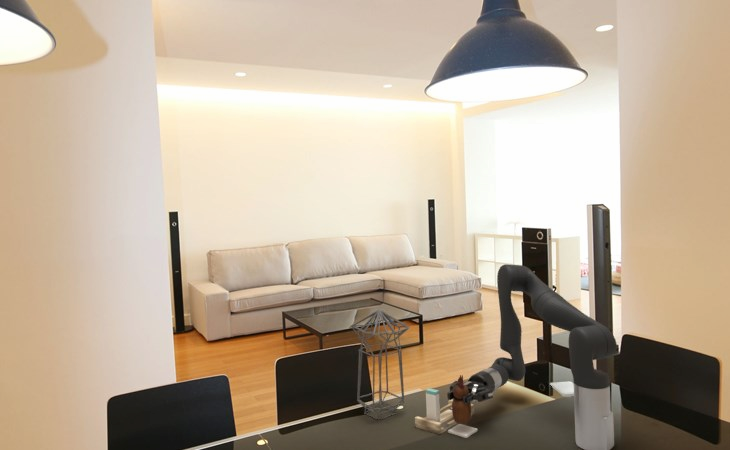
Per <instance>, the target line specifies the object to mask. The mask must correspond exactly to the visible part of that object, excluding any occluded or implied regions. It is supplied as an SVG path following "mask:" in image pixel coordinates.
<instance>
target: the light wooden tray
mask: <svg viewBox="0 0 730 450" xmlns="http://www.w3.org/2000/svg"><path fill="white" fill-rule="evenodd" d="M452 401H453V399H452V400H448V399H447V403H448V404H446V405H445V406H443V407H440V422H436V421H432V420H429V419H427V415H426V416H424V417H421V416H419V415H418V416H415V417H414V425H415V428H418V429H420V430H423V431H425V432H428V433H429V432H430V433H432V434H436V435H441V434H443V433H445V432H446V431H448V430H450V429H451V428H453V427H455V426H456V425H458V423H456V422H455V420H454V418H453V414H452ZM474 407H475V404H473V403H471V416H473V415H474V414H475V408H474Z"/></svg>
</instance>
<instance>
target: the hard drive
mask: <svg viewBox="0 0 730 450" xmlns="http://www.w3.org/2000/svg"><path fill="white" fill-rule="evenodd" d="M550 385H551V386H552V387H551V386H550ZM549 386H550V387H551V388H553V389H554V390H555V391H556V392H557V393H558V394H559V395H561V396H562V397H563V398H572V397H571V396H574V382H572V381H557V382H554V381H553V382H550V383H549Z"/></svg>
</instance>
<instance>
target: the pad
mask: <svg viewBox="0 0 730 450" xmlns="http://www.w3.org/2000/svg"><path fill="white" fill-rule="evenodd" d="M477 432H478V428H476V427H472V426H469V425H466V424H456V425H454V426H453V427H451V428H449V429H448V430H447V433H449V434H452V435H455V436H459V437H461V438H464V439H467V438H469V437H470V436H471V435H473V434H475V433H477Z"/></svg>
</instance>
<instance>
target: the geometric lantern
mask: <svg viewBox="0 0 730 450" xmlns="http://www.w3.org/2000/svg"><path fill="white" fill-rule="evenodd" d="M367 319H368V320H367ZM366 320H367V321H366ZM364 321H366V322H365V323H364V324H360V323H361V322H364ZM381 323H382V324H383V329H384V331H383V332H380V328H381V327H380V326H381V325H380V324H381ZM398 324H399V325H398ZM386 325H387V326H388V328H389V329H390V331H391V332H388V330H387V326H386ZM373 326H374V328H373ZM359 327H360V328H359ZM348 328H351V329H352V330H353V331H354V332H355V334H356V335H357V336H358V340H359V341H360V340H361V341H360V348H359V349H358V350H357V351H358V365H357V366H358V371H357V394H356V395H357V396H356V398H357V399H356V400H357V402H358V404H360V405H361V407H363V408H364V411H363V412H364V415H365V414H366V416H367V417H370V416H371V417H370V418H372V417H373V419H375V420H377V419H378V420H377V421H379V420H380V419H381V420H384V419H386V418H389V417H391V415H392V416H394V415H396V414H397V409H398V408H399V407H400V406H402V405H404V404H405V392H404V374H403V373H404V372H403V356H402V348H401V342H400V338H401V336H402V335H403V334H404V333H406V332H407V331H408V330H409V329H410V326H409V325H407V324H406V323H404V322H402V321H400V320H398V319H397V318H395V317H393V316H392V315H390V314H389V313H387V312H385V311H384V310H381V309H380V310H375V311H374V312H372V313H370V314H369V315H367V316H365V317H363V318H362V319H360V320H358V321H356V322H354V323H353V324H350V325H349V327H348ZM368 328H370V331H368ZM377 328H378V330H377ZM396 328H398V330H397V331H395V329H396ZM401 328H402V329H401ZM357 330H358V331H357ZM376 331H378V332H377V333H376ZM360 332H361V333H362V336H361V335H360ZM366 335H369V336H368V337H366V338H365V336H366ZM384 335H386V337H385V336H384ZM392 335H393V337H394V338H392V339H391V337H392ZM373 336H375V337H376V338H377V340H378V341H379V342H380V343H377V344H373V345H369V343H368V340H369V339H370V338H372V337H373ZM378 336H380V337H381V338H382V339H384V340H385V341H386V342H385V343H383V342H382V341H381V339H379V337H378ZM397 339H398V343H397ZM364 342H365V344H366V346H363V343H364ZM391 342H394V343H395V347H394V346H391V345H390V344H388V343H391ZM398 345H399V346H398ZM376 346H379V347H380V349H379V350H380V351H379V353H378V354H374V352H373V351H372V348H371V347H376ZM387 347H389V348H391V349H395V350H397V351H393V352H389V353H388V348H387ZM367 348H368V350H369V351H370V352H369V353H368V352H367V351H364V350H363V349H367ZM384 349H385V351H384ZM383 351H384V352H385V353H384V354H383ZM363 353H364V354H366V355H368V356H371V357H372V392H371V393H368V394H367V393H366V394H364V395H363V394H362V395H361V383H362V380H361V379H362V369H363V368H362V365H363ZM392 354H393V355H394V354H397V357H398V365H399V366H398V367H399V377H400V378H399V381H400V388H401V389H400V390H401V396H398V395H397V394H395V393H392V392H390V391H389V376H388V375H389V373H388V372H389V371H388V355H392ZM384 356H385V376H386V377H385V380H386V381H385V382H386V383H385V384H386V390H382V363H383V362H382V357H384ZM376 357H377V358H378V360H377V361H378V377H379V378H378V381H379V382H378V383H379V385H378V386H379V387H378V391H375V378H376V377H375V367H376V364H375V363H376V361H375V360H376V359H375V358H376ZM383 393H385V394H384V396H383V395H382V394H383ZM375 394H378V401H375ZM387 394H388V395H391V396H393V397H396V398H398V399H400V401H399V402H398V403H395V404H391V403H389V402H386V401H384V400H385V399H386V396H387ZM371 395H372V403H370V404H367V403H365V402H364V401H362V400H361V399H362V398H365V397H368V396H371ZM377 403H378V406H377V407H375V404H377ZM384 404H386V405H388V406H384ZM393 407H394V408H393ZM383 410H385V411H383ZM378 411H380V412H378ZM370 412H372V413H375V414H377V417H375V416H373V415H370V414H369V413H370ZM387 412H392V413H391V414H389V415H386V416H384V417H383V414H385V413H387Z"/></svg>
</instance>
